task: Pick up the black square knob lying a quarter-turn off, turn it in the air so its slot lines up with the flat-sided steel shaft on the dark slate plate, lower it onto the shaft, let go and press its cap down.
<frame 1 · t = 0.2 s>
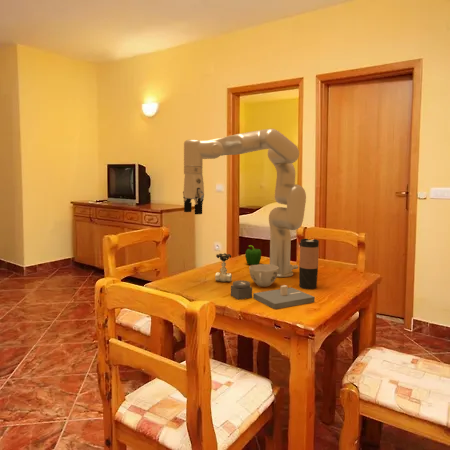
hand: (193, 213, 168), 31 cm above the table, tool pointing down, fingers open, 9 cm apart
bell pepper: (253, 264, 214), on the table
teacup: (262, 286, 174), on the table
valve: (223, 282, 180), on the table
hub plate: (283, 300, 155), on the table
knob: (241, 296, 159), on the table
travel mug: (307, 287, 173), on the table
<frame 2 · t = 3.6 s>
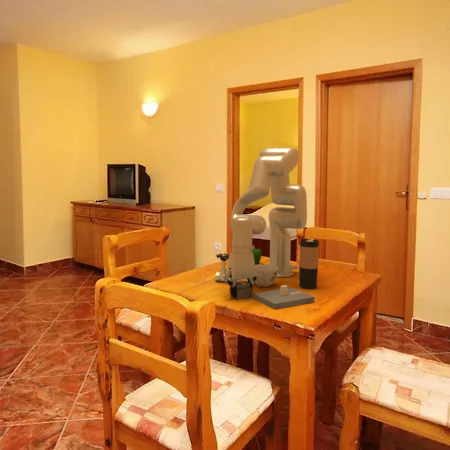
hand: (241, 294, 159), 1 cm above the table, tool pointing down, fingers closed on knob, 6 cm apart
knob: (241, 296, 159), on the table, touching gripper
everything else where it was.
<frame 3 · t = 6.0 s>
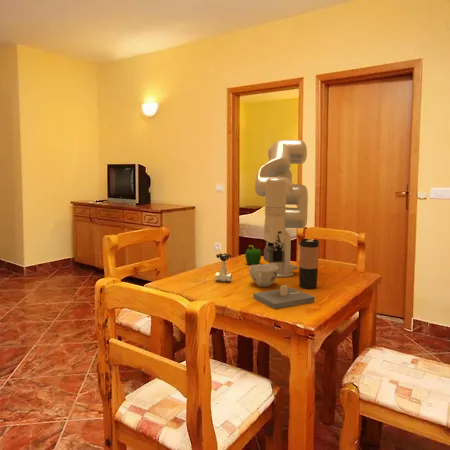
hand: (273, 258, 154), 16 cm above the table, tool pointing down, fingers closed on knob, 6 cm apart
knob: (273, 260, 154), point 15 cm above the table, touching gripper
everything else where it was.
when the fingers open (3 cm above the table, at t = 8.8 s): knob stays where it is, resting on hub plate.
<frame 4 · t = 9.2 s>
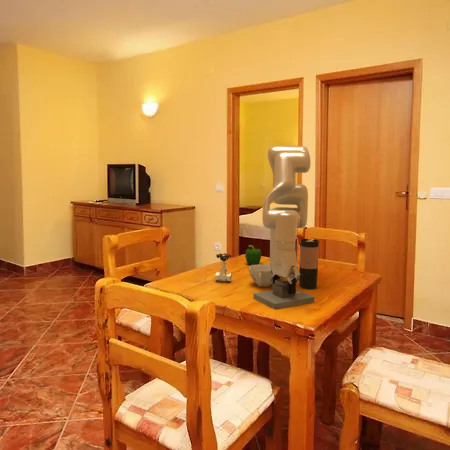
hand: (283, 290, 154), 4 cm above the table, tool pointing down, fingers open, 9 cm apart
knob: (283, 294, 155), point 2 cm above the table, touching hub plate
everything else where it was.
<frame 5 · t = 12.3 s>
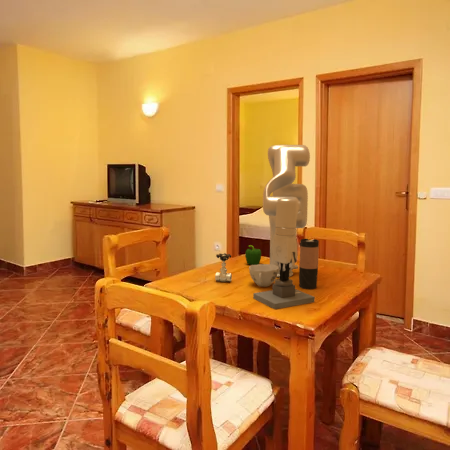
hand: (284, 280, 154), 8 cm above the table, tool pointing down, fingers closed
knob: (283, 294, 155), point 2 cm above the table, touching gripper, hub plate
everything else where it was.
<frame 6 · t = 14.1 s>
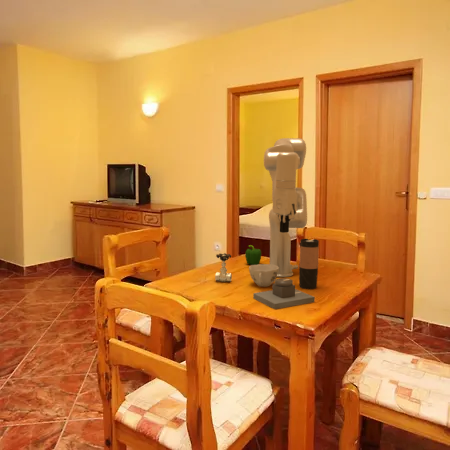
hand: (284, 232, 161), 25 cm above the table, tool pointing down, fingers closed
knob: (283, 294, 155), point 2 cm above the table, touching hub plate
everything else where it was.
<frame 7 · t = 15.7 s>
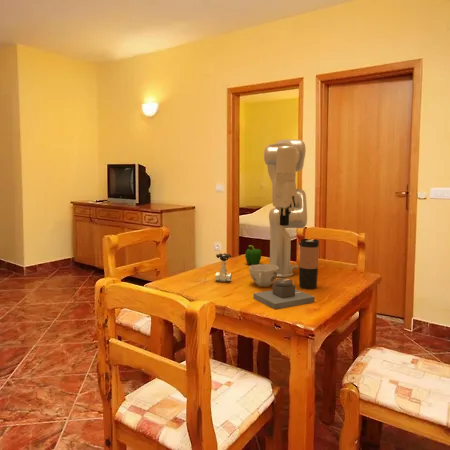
hand: (284, 225, 162), 27 cm above the table, tool pointing down, fingers closed
nothing on the table moved.
at the end: knob 0.1 cm from the hub plate (horizontally); knob point 2.1 cm above the table; the gripper is holding nothing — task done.
